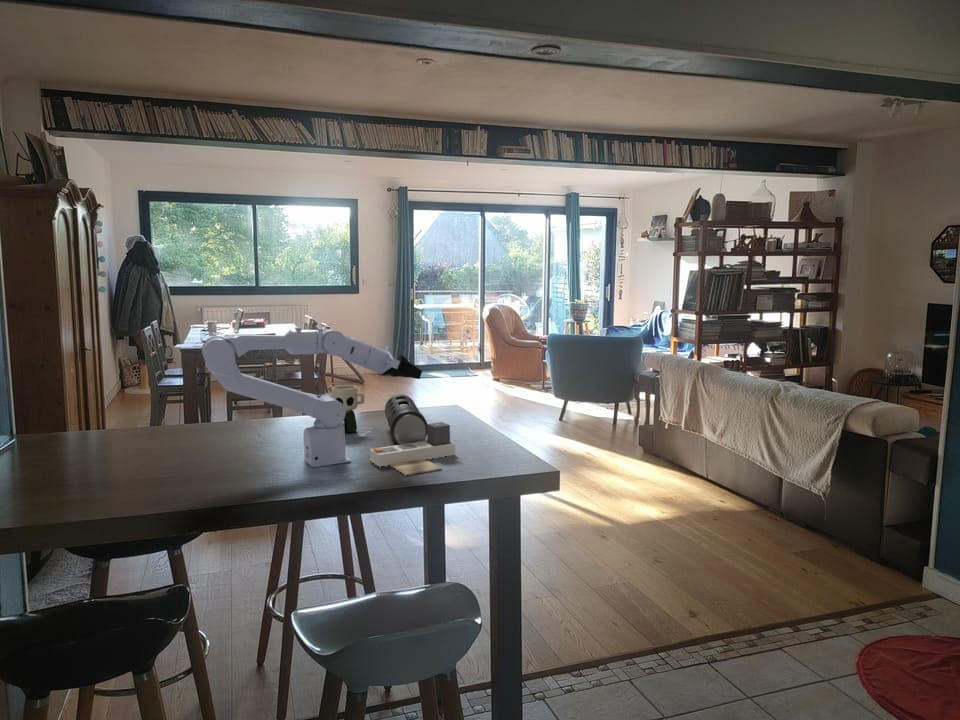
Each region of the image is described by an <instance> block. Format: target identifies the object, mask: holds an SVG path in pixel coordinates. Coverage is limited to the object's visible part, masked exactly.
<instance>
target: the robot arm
mask: <svg viewBox="0 0 960 720" xmlns="http://www.w3.org/2000/svg"><path fill="white" fill-rule="evenodd" d="M391 348H392V347H390V346H386V347H385V349H383V348H380V347H377V346H374V345H372V344H370V343H367V342H365V341H363V340H359V339H357V338H354V337H350V336H348V335H344V334H343V333H342V332H340V331H336V330H334V329H331V328H322V327H317V329H302V327H300V326H296V327H294V329H290V330H289V331H287V333H285V334H284V335H282V334H281V335H280V334H277V335H276V334H251V333H239V334H227V335H223V336H219V335H213V336H211V337H209V338H207V339H206V340H205V341H203V344H202V347H201V354H202V357H203V359H204V362H205V365H206V368H207V370H208V371H209V373H211V374H212V375H213V377H214V378H215V379H216V380H217V382H218V383H219V384H220V385H221V386H222V388H223V389H224V390H225V391H227V392H230V393H234V394H237V395H241V396H244V397H248V398H250V399H254V400H258V401H261V402H264V403H266V404H267V403H268V404H272V405H274V406H278V407H282V408H285V409H288V410H290V411H291V410H292V411H295V412H299V413H302V414H304V415H306V416H308V417H311V418H312V419H313V418H314V419H315V420H314V422H313V425H312V426H310V427H309V426H308V427H305V428H304V429H303V450H304V451H303V452H304V457H303V460H304V461H305V462H306V463H307V464H308V465H310V467H312V468H319V467H324V466H325V467H326V466H332V465H337V464H339V465H340V464H344V463H350V462H352V459H351V458H350V457H348V456H346V433H345V432H346V430H345V427H344V421H343V420H344V418H345V414H346V411H345V407H344V406H343V404H342V403H340V402H339V401H337V400H336V399H335V398H334V397H333V396H331V395H328V394H329V393H326V394H314V393H310V392H304V391H301V390H298V389H294V388H291V387H288V386H285V385H282V384H278V383H275V382H272V381H268V380H265V379H262V378H260V377H259V378H258V377H256V376H252V375H248V374H245V373H242V372H241V371H240V369H239V367H238V364H237V363H236V356H237V357H238V358H240V357H241V356H243V355H244V354H246V353H247V352H249V351H259V350H260V351H262V350H264V351H265V350H286V352H288V354H290V355H318V354H320V353H323V354H327V355H328V356H331V357H335V356H336V357H339V358H342V359H343V360H344V361H346V362H349V363H352V364H354V365H356V366H359V367H362V368H365V369H367V370H370V371H373V372H375V373H377V374H378V375H380V376H390V377H394V378H395V377H401V378H411V379H415V380H416V379H418V380H420V379H421V377H422V373H423V371H422V370H421V369H420V368H419V367H417V366H415V365H414V364H412V363H411V362H410V361H409V360H408V359H407V358H406V357H405V356H404V355H403V354H398V359H396V358H394V356H393V355H392V353H391ZM235 354H236V355H235Z"/></svg>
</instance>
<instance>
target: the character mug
mask: <svg viewBox="0 0 960 720" xmlns="http://www.w3.org/2000/svg"><path fill="white" fill-rule="evenodd" d="M327 394H328V395H331V396H333V397H334V398H335V399H336V400H337V401H339V402H340V403H342V404H343V406H344V407H345V411H346V414H345V418H344V420H343V421H344V427H345V431H347V433H353V432H355V431H357V429H358V426H357V419H356V414H355V411H354V410H356V409H357V408H358V405H363V404H364V403H365V393H364V392H362V391H360V392H358V386H357V385H351V384H350V385H349V384H343V385H341V384H339V385H335V386H332V387H331V393H327ZM359 396H360V400H359V399H358V397H359Z"/></svg>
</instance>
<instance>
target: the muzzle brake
mask: <svg viewBox="0 0 960 720" xmlns="http://www.w3.org/2000/svg"><path fill="white" fill-rule="evenodd" d="M384 415H385V418H386V420H387V422H388V426H389V432H390V435H391V438H392V440H393V441H394V442H395V443H396V445H402V444H409V443H415V442H422V441H425V440H426V438H427V424H428V422H427V420H426V418H425V416H424V415H423V414H422V413H421V412H420V410H419V409H418V407H417V405H416V404H415V401H414V399H412V398H411V397H410V396H409V395H405V394H395V395H392V396H391V397H390V398H389V399H388V400H387V401H386V403H385V406H384Z"/></svg>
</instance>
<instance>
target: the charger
mask: <svg viewBox="0 0 960 720" xmlns="http://www.w3.org/2000/svg"><path fill="white" fill-rule="evenodd" d="M426 438H427V440H426V441H427V442H428V444H430V445H432V446H438V445H445V444H450V441H451V425H450V424H448V423H446V422H443V421H439V422H432V423H431V422H430V423H427V436H426Z"/></svg>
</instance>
